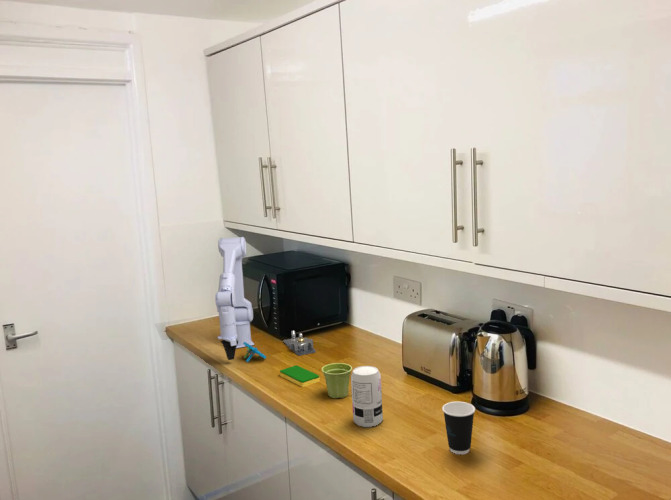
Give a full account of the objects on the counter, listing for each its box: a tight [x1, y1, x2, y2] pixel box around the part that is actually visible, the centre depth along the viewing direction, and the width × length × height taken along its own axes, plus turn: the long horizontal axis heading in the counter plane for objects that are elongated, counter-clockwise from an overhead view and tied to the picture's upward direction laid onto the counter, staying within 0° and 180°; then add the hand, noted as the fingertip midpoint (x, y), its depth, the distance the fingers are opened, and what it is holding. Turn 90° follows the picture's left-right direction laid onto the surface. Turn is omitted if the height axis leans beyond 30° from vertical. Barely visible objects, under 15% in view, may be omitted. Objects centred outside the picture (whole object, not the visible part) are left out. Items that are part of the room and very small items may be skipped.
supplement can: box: [350, 365, 384, 428], centre depth 163 cm, size 8×8×15 cm
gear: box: [243, 342, 267, 363], centre depth 218 cm, size 11×6×10 cm
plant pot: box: [321, 362, 353, 399], centre depth 183 cm, size 9×9×9 cm
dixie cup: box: [442, 401, 476, 456], centre depth 146 cm, size 8×8×11 cm
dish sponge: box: [279, 364, 321, 388], centre depth 199 cm, size 7×14×2 cm, turn 38°
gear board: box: [282, 330, 317, 356], centre depth 230 cm, size 18×9×6 cm, turn 23°
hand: (231, 359), depth 216 cm, fingers closed
